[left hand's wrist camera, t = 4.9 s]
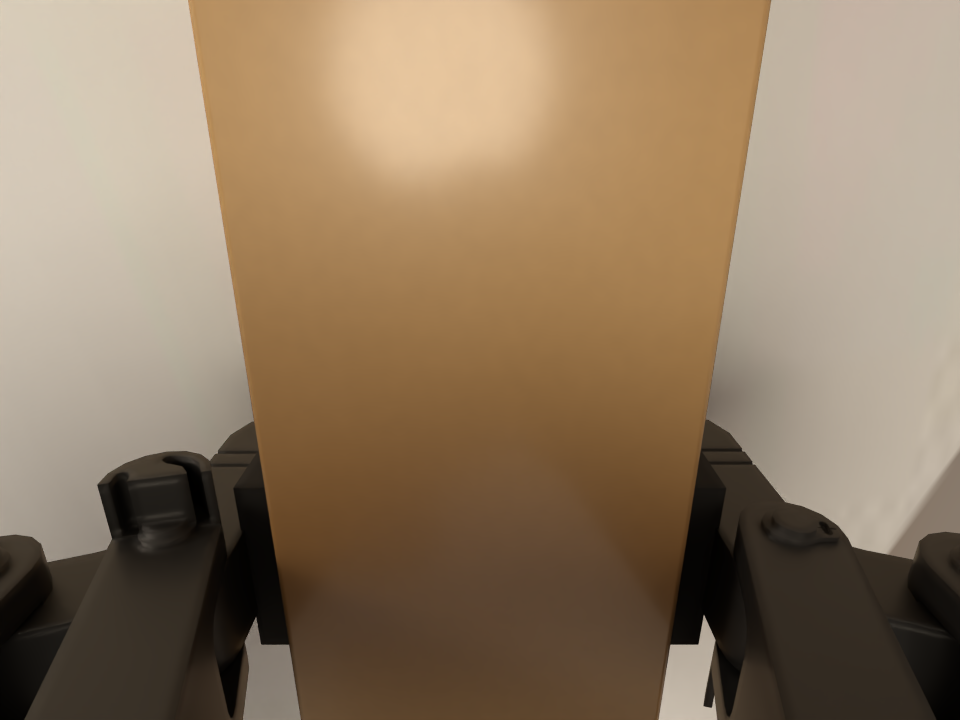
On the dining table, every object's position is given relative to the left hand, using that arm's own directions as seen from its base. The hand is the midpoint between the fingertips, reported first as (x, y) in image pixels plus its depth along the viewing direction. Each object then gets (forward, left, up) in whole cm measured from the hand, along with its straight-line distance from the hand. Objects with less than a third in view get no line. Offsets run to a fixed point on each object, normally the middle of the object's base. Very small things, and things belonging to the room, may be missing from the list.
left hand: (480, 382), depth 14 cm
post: (+29, +6, -1) cm, 30 cm away
